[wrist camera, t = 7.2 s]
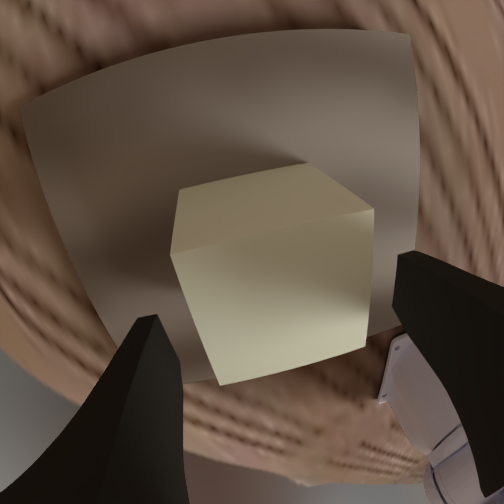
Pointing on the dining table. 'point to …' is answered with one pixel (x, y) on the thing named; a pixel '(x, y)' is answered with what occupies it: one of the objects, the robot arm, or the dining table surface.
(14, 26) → the dining table surface
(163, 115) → the taupe base
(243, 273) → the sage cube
